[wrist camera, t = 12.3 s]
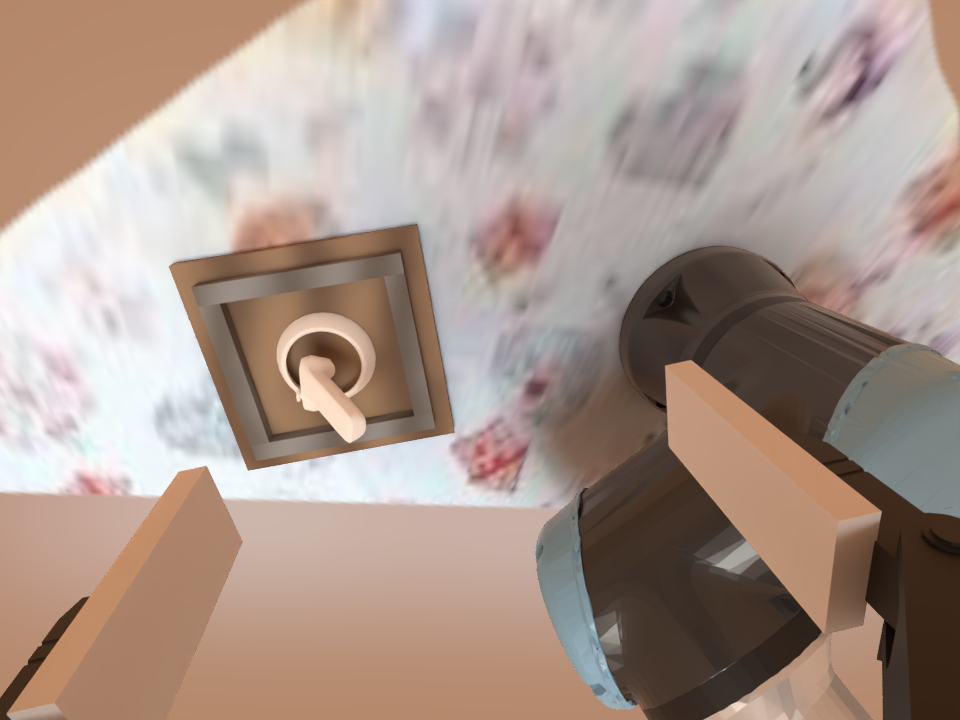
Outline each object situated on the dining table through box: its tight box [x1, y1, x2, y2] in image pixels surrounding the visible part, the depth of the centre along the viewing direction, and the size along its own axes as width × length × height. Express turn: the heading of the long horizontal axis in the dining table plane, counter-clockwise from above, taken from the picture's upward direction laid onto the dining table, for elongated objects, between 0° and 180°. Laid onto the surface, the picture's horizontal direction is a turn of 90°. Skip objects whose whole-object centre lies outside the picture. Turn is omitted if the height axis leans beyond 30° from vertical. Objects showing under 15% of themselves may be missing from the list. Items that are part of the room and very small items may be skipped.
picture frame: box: [169, 224, 454, 471], centre depth 42 cm, size 18×18×2 cm
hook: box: [277, 312, 376, 443], centre depth 39 cm, size 8×12×7 cm
